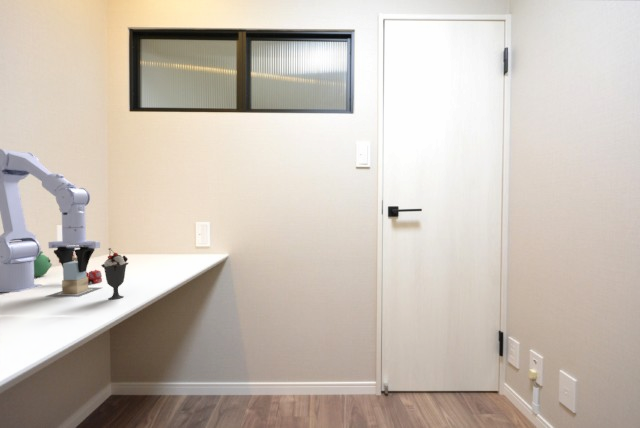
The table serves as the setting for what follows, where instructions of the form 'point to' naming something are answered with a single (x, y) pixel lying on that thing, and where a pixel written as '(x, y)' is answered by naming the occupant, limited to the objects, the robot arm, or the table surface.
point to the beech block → (74, 286)
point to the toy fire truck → (91, 274)
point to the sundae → (115, 272)
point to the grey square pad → (59, 294)
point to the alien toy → (41, 265)
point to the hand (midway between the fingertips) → (75, 271)
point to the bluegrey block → (72, 271)
